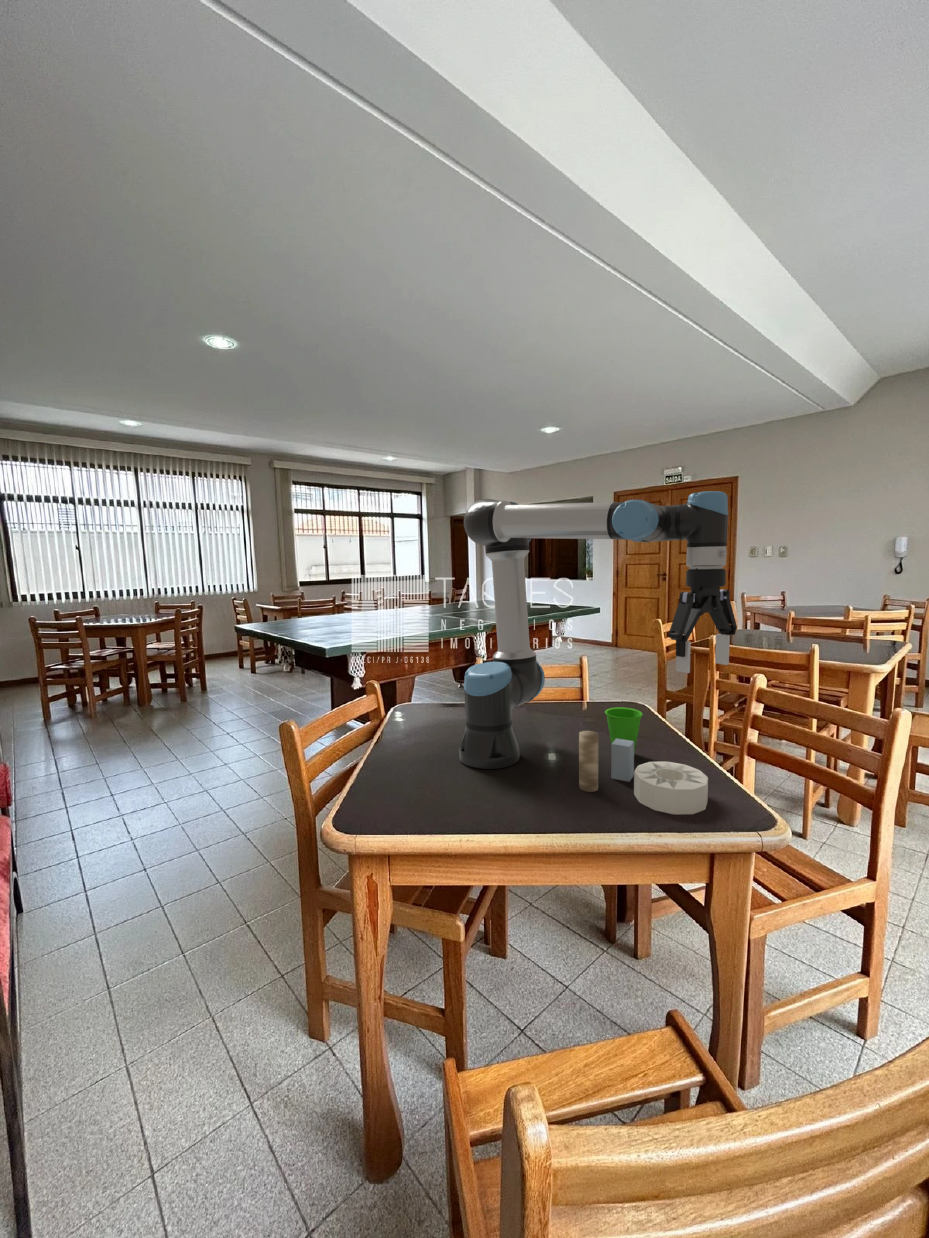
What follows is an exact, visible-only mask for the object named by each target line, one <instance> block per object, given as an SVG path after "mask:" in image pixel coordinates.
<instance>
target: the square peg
mask: <svg viewBox="0 0 929 1238" xmlns="http://www.w3.org/2000/svg"><path fill="white" fill-rule="evenodd" d="M610 744H611V743H610ZM610 753H611V757H610V759H611V760H610V761H611V763H610V764H611V765H610V767H611V769H610V770H611V771H610V772H611V773H610V774H611V775H610V777H611V779H612V780H617V781H623V782H627V783H628V782H629V783H630V782H631V780H632V779H633V778H634V771H635V769H634V768H635V754H634V741H630V740H623V739H617V738H616V739H615V740H614V742H613V743H612V744H611V752H610Z"/></svg>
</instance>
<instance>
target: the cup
mask: <svg viewBox="0 0 929 1238" xmlns="http://www.w3.org/2000/svg"><path fill="white" fill-rule="evenodd" d="M604 714H605V715H606V721H607V728H608V732H609V738H610V744H612V743H613V742H614V740H615V739H616V738H617V739H623V740H630V741H634V755H636V753H635V752H636V746H637V741H638V737H639V732H640V726H641V720H642V717H643V715H644V713H643V712H642V711H640V710H638V709H636V708H632V707H621V706H619V707H617V706H616V707H610V708H608V709H605V711H604Z"/></svg>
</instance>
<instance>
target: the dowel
mask: <svg viewBox="0 0 929 1238" xmlns="http://www.w3.org/2000/svg"><path fill="white" fill-rule="evenodd" d="M578 788H579V789H580V790H581V791H584V792H586V793H587V792H589V793H593V792H597V791H598V790H599V733H598V732H597V731H593V730H582V731H579V732H578Z"/></svg>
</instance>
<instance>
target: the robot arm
mask: <svg viewBox="0 0 929 1238" xmlns="http://www.w3.org/2000/svg"><path fill="white" fill-rule="evenodd" d="M687 497H688V498H687V501H686V503H682V504H674V505H673V504H672V505H658V504H655V503H651V502H649V501H646V500H644V499H628V500H626V501H618V502H617V501H616V502H615V501H603V502H569V503H568V502H567V503H566V502H565V503H532V504H531V503H530V504H526V503H525V504H519V503H517V502H514V501H508V500H497V499H493V498H484V499H478V500H476V501H474V502H473V503H472V504H471V505H470V506H469V507H468V508H467V509H466V512H465V513H464V518H463V528H464V531H465V533H466V535H467V536H468V538H469V539H470V540H471V542H474V543H475V544H477V545H480V546H484V551H485V553H484V554H485V556H486V557H487V558H488V559H489V560H490V561H491V570H492V581H493V582H492V584H493V597H494V612H495V614H494V615H495V626H496V627H495V628H496V640H497V642H496V643H497V651H495V652H494V654H493V655H492V661H486V662H480V663H477V664H474V665H471V666H470V667H468V669H467V670H466V671H465V673H464V681H463V682H464V683H463V690H464V716H465V717H464V718H465V728H464V733H463V736H462V740H461V743H460V746H459V750H458V753H459V756H458V757H459V761H460V762H461V763H462V764H464V765H465V766H467V767H471V768H475V769H484V770H495V769H497V770H498V769H503V768H507V767H511V766H513V765H515V764H516V763H518V762H519V760H520V747H519V744H518V741H517V739H516V735H515V732H514V729H513V716H512V715H513V709H515V708H516V707H519V706H521V705H523V704H528V703H529V702H531V701H533V700H534V699H535V698H536V697H538V696H539V694H541V692H542V690H543V689H544V687H545V680H546V679H545V671H544V668H543V667H542V665H540V664H539V662H538V661H537V654H536V652H535V651H534V650H533V649H532V648H531V647H530V646H531V645H530V644H531V643H530V629H529V617H528V616H529V615H528V601H527V586H526V585H527V583H526V571H525V569H526V568H525V558H526V556H527V555H528V554H529V553H530V542H531V540H532V539H559V540H560V539H564V540H565V539H566V540H567V539H571V540H575V539H576V540H615V541H616V540H620V541H621V540H622V541H623V540H624V541H625V540H626V541H627V540H628V541H632V542H635V543H637V542H638V543H639V542H640V543H650V542H651V543H653V542H667V541H684V540H686V556H685V557H686V559H685V560H686V563H685V565H686V567H688V569H687V570H686V572H685V585H686V587H689V588H690V591H689V592H687V591H685V592H684V591H680V593H679V597H678V598H679V599H678V604H677V608H676V610H675V613H674V617H673V619H672V622H671V626H670V628H669V632H668V638H669V639H671V640H672V641H675V655H676V657H675V660H676V661H675V671H676V672H678V673H679V672H680V673H684V674H690V673H691V649H692V647H691V645H692V644H691V643H692V642H691V641H690V640H689V638H690V636H691V634H692V632H693V631H694V628H695V627H696V624H697V623H698V621H699V619H700V617H701V616H703V615H704V614H706V613H708V614H709V616H710V618H711V620H712V622H713V624H714V626H715V628H716V630H717V632H718V633H716V634H715V651H714V653H715V656H714V664H718V665H725V666H727V665H728V666H729V665H730V644H731V643H730V642H731V641H730V640H731V636H734V635H736V632H737V630H738V626H737V621H736V618H735V613H734V611H733V610H734V609H733V607H732V606H733V605H732V602H731V596H730V589H721V588H722V587H725V586H726V584H727V583H726V581H727V569H725V568H724V567H725V566H726V565H727V555H728V552H727V546H728V529H729V528H728V527H729V526H728V525H729V505H728V504H729V501H728V499H729V497H728V495H727V493H726V492H724V491H719V490H711V491H710V490H709V491H700V492H694V493H690V494H689V495H688V496H687Z"/></svg>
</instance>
